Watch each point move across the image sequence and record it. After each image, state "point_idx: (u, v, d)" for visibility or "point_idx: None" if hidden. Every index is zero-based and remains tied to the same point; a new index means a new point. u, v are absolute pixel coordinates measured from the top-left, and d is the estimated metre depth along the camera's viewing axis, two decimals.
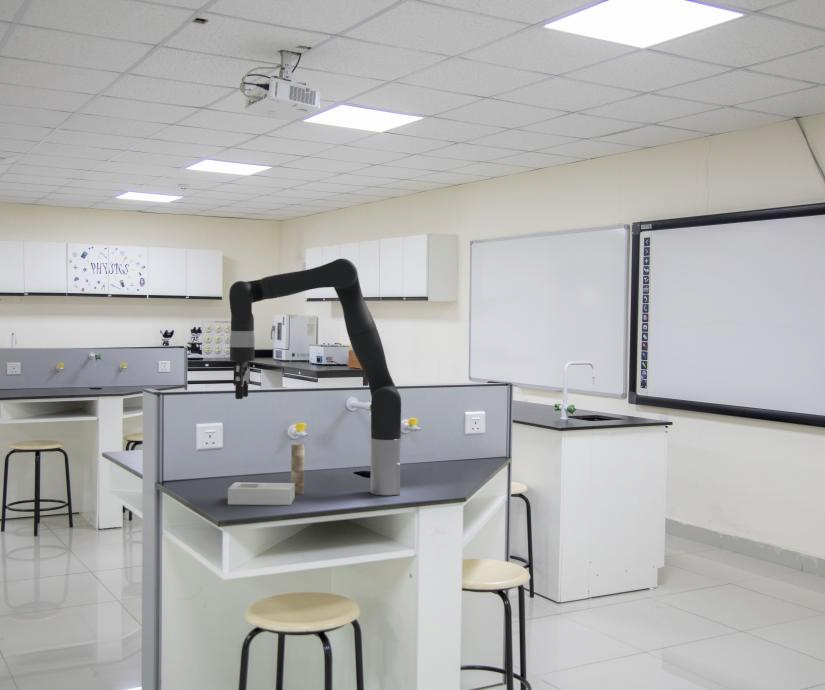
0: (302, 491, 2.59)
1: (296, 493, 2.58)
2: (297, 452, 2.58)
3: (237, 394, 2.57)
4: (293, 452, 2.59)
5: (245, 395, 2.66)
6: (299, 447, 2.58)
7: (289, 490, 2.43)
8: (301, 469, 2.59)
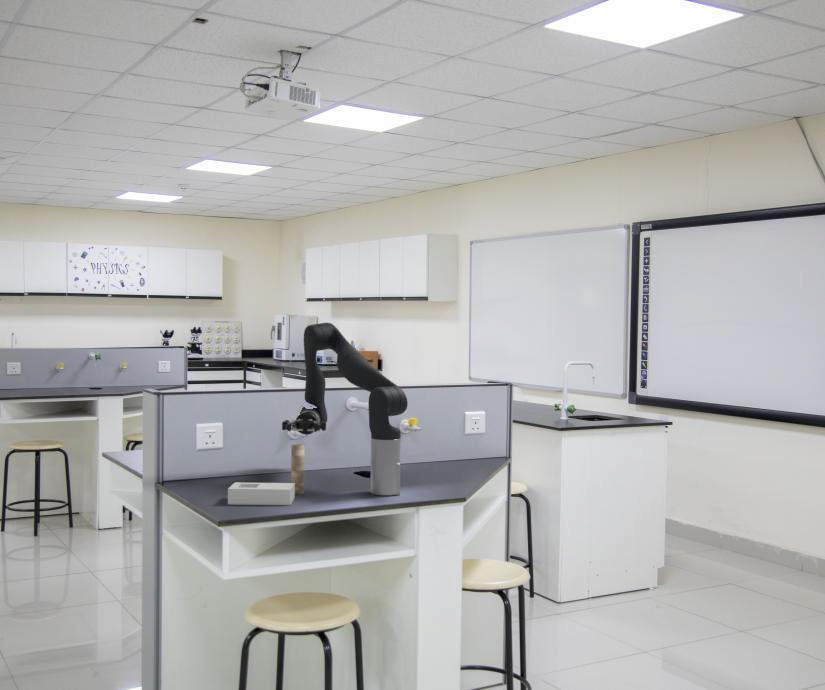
0: (302, 491, 2.59)
1: (296, 493, 2.58)
2: (297, 452, 2.58)
3: (286, 428, 2.73)
4: (293, 452, 2.59)
5: (314, 427, 2.72)
6: (299, 447, 2.58)
7: (289, 490, 2.43)
8: (301, 469, 2.59)
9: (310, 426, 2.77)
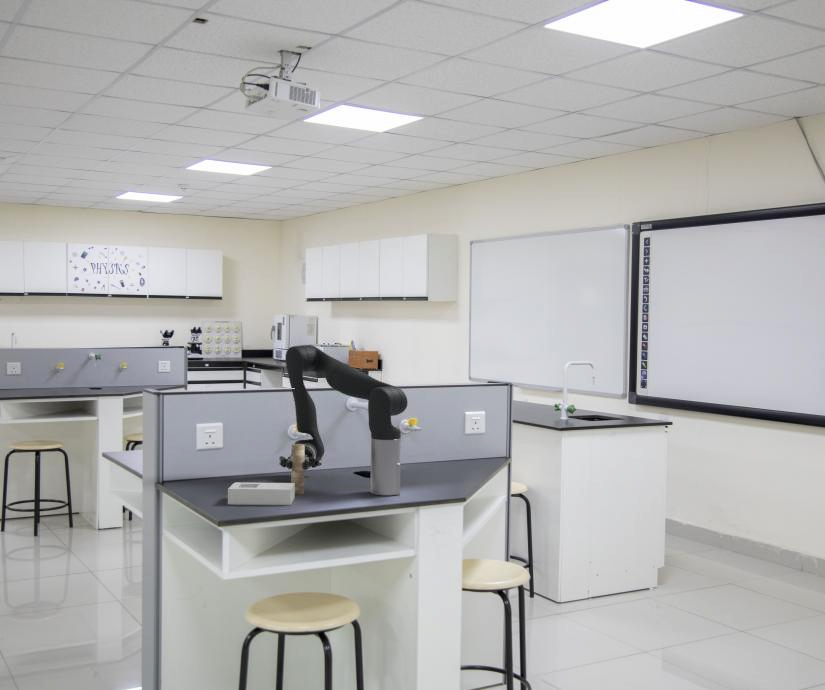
0: (302, 491, 2.59)
1: (296, 493, 2.58)
2: (297, 452, 2.58)
3: None
4: (293, 452, 2.58)
5: (303, 464, 2.58)
6: (299, 447, 2.58)
7: (289, 490, 2.43)
8: (301, 469, 2.59)
9: None
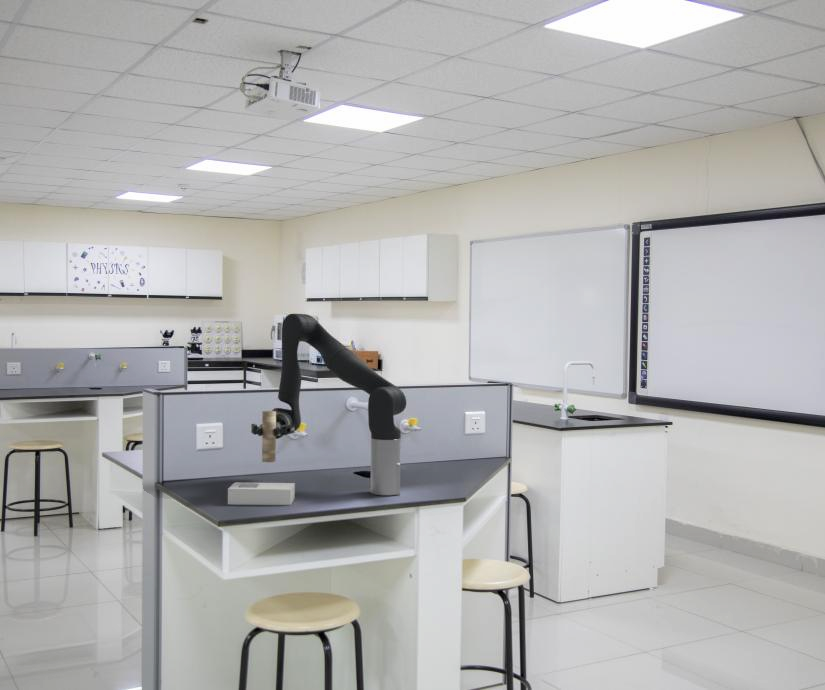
0: (273, 459, 2.53)
1: (267, 461, 2.52)
2: (268, 418, 2.51)
3: (257, 432, 2.52)
4: (264, 419, 2.52)
5: None
6: (270, 413, 2.51)
7: (289, 490, 2.43)
8: (272, 436, 2.52)
9: None
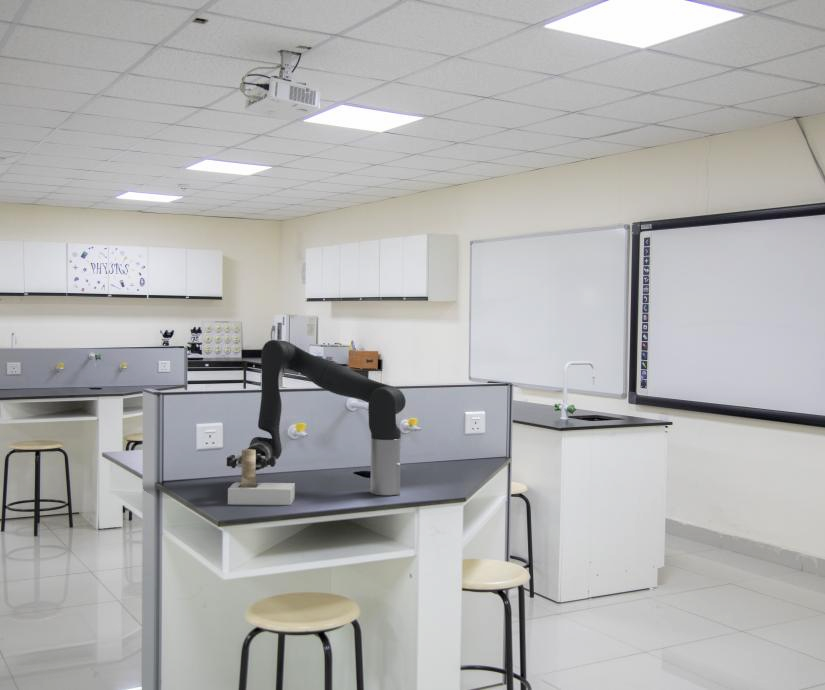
0: None
1: None
2: (247, 457, 2.46)
3: (230, 464, 2.47)
4: (243, 458, 2.46)
5: (260, 463, 2.47)
6: (249, 452, 2.46)
7: (289, 490, 2.43)
8: (252, 475, 2.47)
9: (257, 462, 2.52)
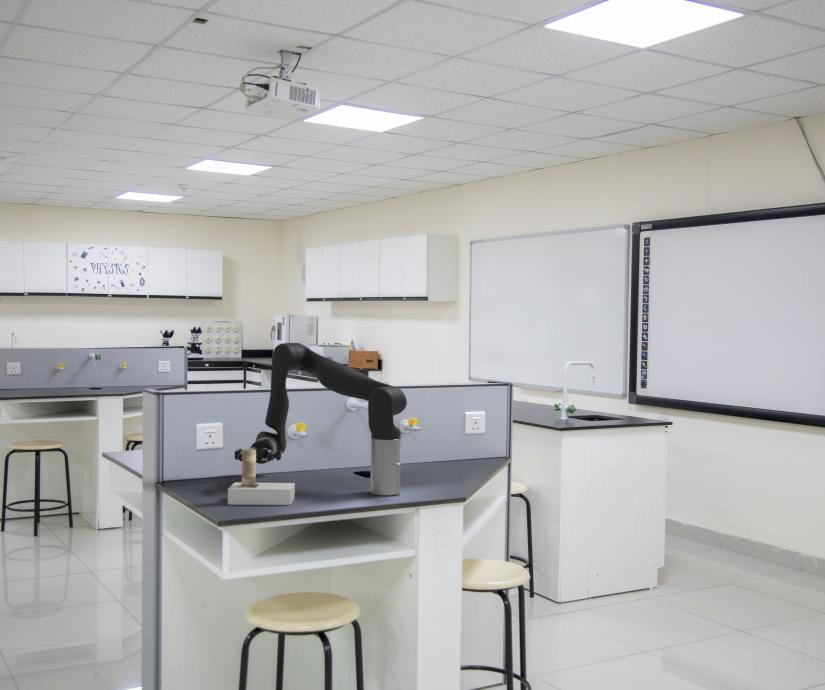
0: None
1: None
2: (247, 457, 2.46)
3: (238, 458, 2.60)
4: (243, 458, 2.46)
5: None
6: (250, 452, 2.46)
7: (289, 490, 2.43)
8: (252, 475, 2.47)
9: (264, 455, 2.65)
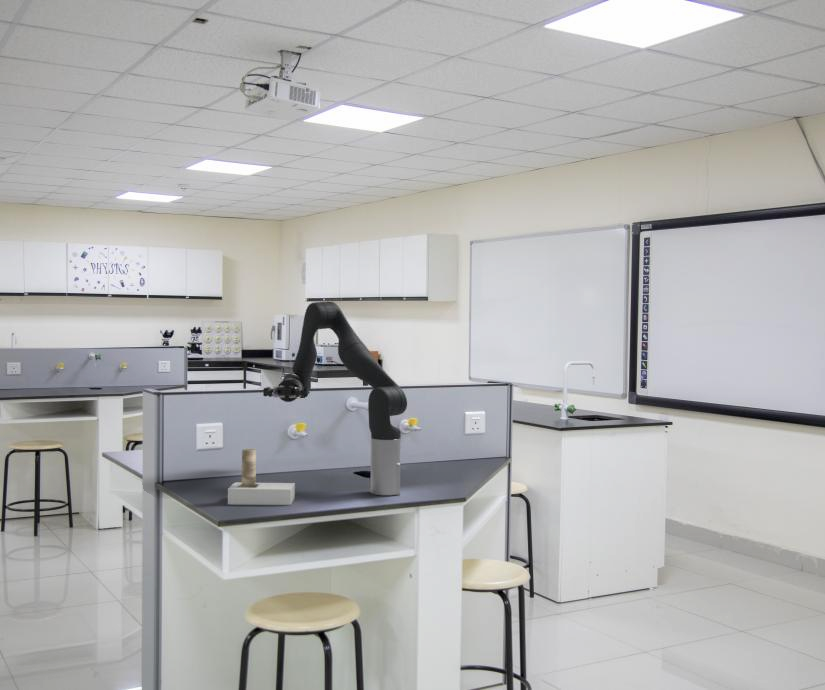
0: None
1: None
2: (247, 457, 2.46)
3: (267, 394, 2.70)
4: (243, 457, 2.47)
5: (295, 392, 2.69)
6: (250, 452, 2.46)
7: (289, 490, 2.43)
8: (252, 475, 2.47)
9: (292, 392, 2.75)
